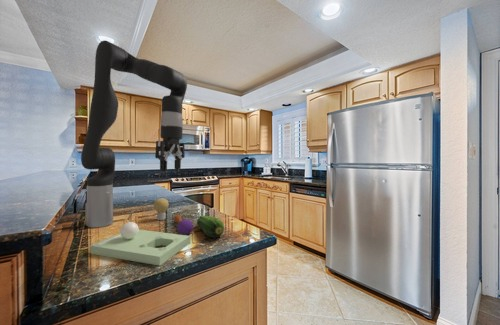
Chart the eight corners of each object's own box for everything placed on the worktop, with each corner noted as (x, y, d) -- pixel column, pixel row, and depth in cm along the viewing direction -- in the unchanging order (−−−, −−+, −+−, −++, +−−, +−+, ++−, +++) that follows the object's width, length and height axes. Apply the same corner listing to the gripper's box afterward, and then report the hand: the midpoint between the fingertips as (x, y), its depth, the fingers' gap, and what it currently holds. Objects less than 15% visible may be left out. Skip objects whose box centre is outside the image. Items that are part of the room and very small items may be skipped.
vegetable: (213, 218, 77) (197, 206, 95) (204, 237, 76) (189, 222, 93) (230, 224, 81) (211, 212, 98) (222, 243, 79) (204, 227, 97)
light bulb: (171, 218, 104) (171, 197, 103) (160, 222, 98) (160, 200, 97) (161, 216, 106) (161, 196, 106) (150, 220, 100) (150, 199, 100)
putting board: (90, 253, 67) (90, 244, 67) (131, 235, 82) (131, 228, 82) (159, 265, 60) (159, 256, 60) (190, 243, 76) (190, 235, 76)
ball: (116, 240, 71) (115, 224, 70) (129, 234, 76) (129, 219, 76) (129, 242, 69) (129, 225, 69) (142, 236, 74) (142, 220, 74)
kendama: (185, 212, 101) (196, 221, 83) (183, 225, 100) (193, 237, 82) (172, 211, 98) (180, 220, 80) (169, 225, 97) (177, 236, 80)
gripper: (174, 128, 87) (173, 168, 87) (149, 123, 73) (148, 171, 73) (191, 128, 85) (189, 169, 85) (168, 123, 71) (167, 172, 72)
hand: (170, 170), depth 79 cm, fingers open, 8 cm apart
